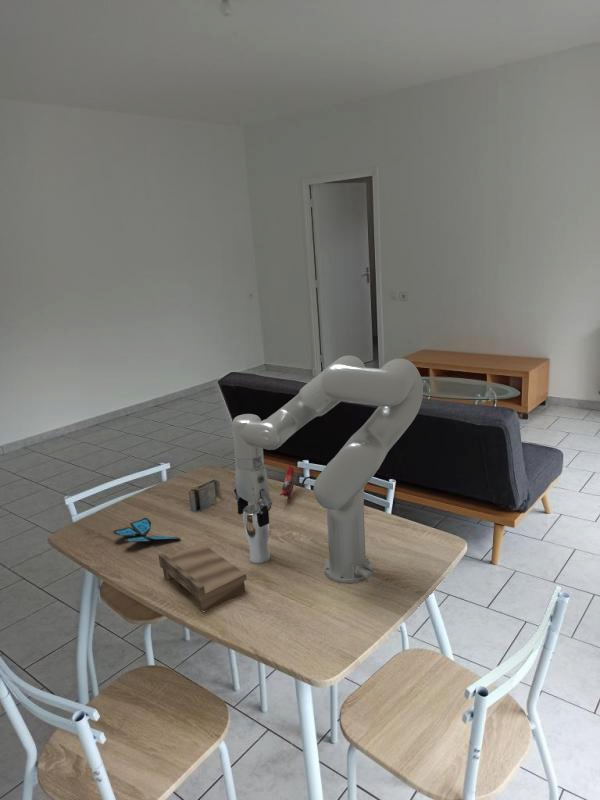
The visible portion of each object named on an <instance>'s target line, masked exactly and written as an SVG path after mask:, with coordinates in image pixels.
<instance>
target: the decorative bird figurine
mask: <svg viewBox="0 0 600 800" xmlns="http://www.w3.org/2000/svg"><path fill="white" fill-rule="evenodd" d="M294 470H295V469H294V467H293V465H288V467H287V469H286V473H285V478H284V481H283V484H282V489H281V492H280V494H279V496H283V497H287V501H289V500H290V498H291V497H292V493H293V490H294V486H295V485H294V484H295V472H294Z"/></svg>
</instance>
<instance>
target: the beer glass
mask: <svg viewBox="0 0 600 800" xmlns="http://www.w3.org/2000/svg"><path fill="white" fill-rule="evenodd" d="M260 506H261V508H263V507H264V505H263V503H262V504H260ZM258 513H259V511H258V509H257V507H256V505H254V504H252V503H250V504H248V506H246V507H245V508H244V509H243V514H242V515H243V517H242V518H243V528H244V533H245V537H246V540H247V543H248V544H247V545H248V550H249V553H248V560H249V562H250V563H252V564H258V565H259V564H263V563H266V562H269V560H270V559H271V556H272V555H271V552H270V550H269V549H270V548H269V534H270V523H269V524H267V525H265V526H262V527H259V526H258Z"/></svg>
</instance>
